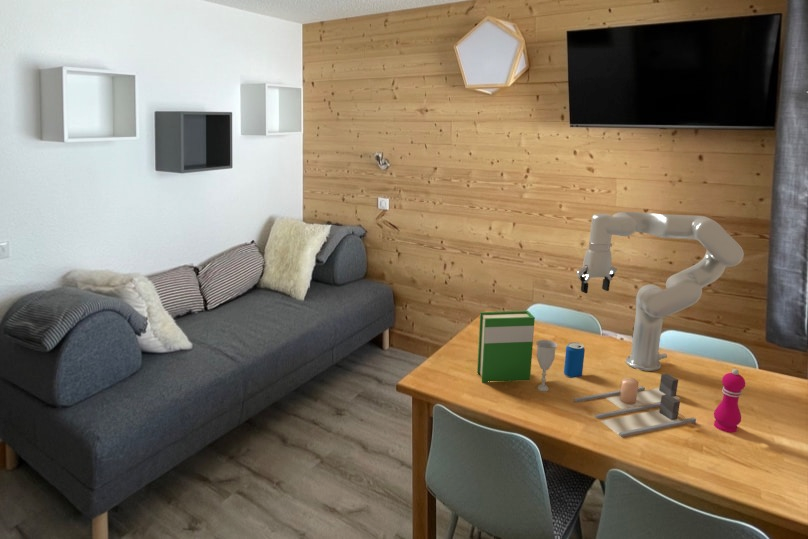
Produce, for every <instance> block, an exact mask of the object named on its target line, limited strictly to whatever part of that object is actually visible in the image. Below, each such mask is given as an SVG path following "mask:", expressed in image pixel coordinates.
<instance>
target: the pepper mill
mask: <svg viewBox="0 0 808 539" xmlns="http://www.w3.org/2000/svg"><path fill="white" fill-rule="evenodd" d="M721 384H722V385H723V387H722V390H721V392H722V393H723V396H722V400H721V401H720V403H719V404H718V405H717V407H716V408H715V409H714V413H713V417H714V420H713V421H714V422H713V426H714V427H715V429H717V430H718V431H721V432H724V433H731V434H732V433H736V432H738V429H739V427H738V425H739V424H741V422H742V414H741V410H740V407H739V398H740V397H742V393H743V391H742V390H744V388H745V387H746V380H745V378H744V377H743V375H741V374H740V371H739V369H737V368H733V369H732V370H731V372H728V373H725V374H724V375H723V376H722V379H721Z"/></svg>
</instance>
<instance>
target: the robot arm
mask: <svg viewBox="0 0 808 539" xmlns="http://www.w3.org/2000/svg"><path fill="white" fill-rule="evenodd" d="M590 223H591V224H590V232H589V242H588V243H589V244H588V249H586V251H585V254H584V256H583V257H584V258H583V263H582V267H581V268H580V269H579V270H577V271H576V274H577V278H578V279H579V281H580V282H581V283H580V285H581V286H580V292H581V293H584V294H588V290H589V283H588V282H589V280H590V279H595V278H596V279H597V278H603V279H602V286H601V288H602V290H604V291H606V292H609V291H610V284H611V282H612V281H613V280H612V279H613V278H614V277H615V274H616V272H617V271H618V269H617V267H615V266H613V265H612V262H613V261H612V260H613V259H612V251H611V248H612V247H613V244H612V235H614V236H619V237H630V236H631V235H633V234H634V233H644V234H648V235H651V236H654V237H658V238H663V239H684V240H696V241H698V242H699V244H701V246H703V247H704V249H706V251H705V254H704V256H703V258H702V259H701V260H700V261H698V262H697V263H695V264H693V265H692V266H689V267H688V268H685V269H683V270H680V271H679V272H677V273H674V274H672V275H671V276H669V277H668V278H667V280H666V282H665V289H662V288H661V287H659V286H658V285H655V284H646V285H643V286H641V287H640V288H639V290H638V292H637V293H636V298H635V318H634V325H633V326H634V327H633V332H632V333H633V334H632V343H631V350H630V355H629V356H626V358H625V363H626V365H628V366H630V367H631V368H633V369H636V370H640V371H644V372H645V371H647V372H654V371H658V370H660V369H661V367H662V363H661V361H660V360H662V359H667V358H668V354H667V353H666V352H665V353H664V352H663V353H660V352H659V349H660V342H661V336H662V328H663V324H664V323H663V321H664V318H667V317H669V316H671V315H674V314H675V313H678V312H680V311H683V310H685V309H687V308H689V307H691V306H693V305H695V304H696V303H697V302H698V301H699V300H700V299H701V297H702V295H703V288H704V287H707V286H708V285H710V284H712V283H714V282H716V281H717V280H718V279H720V277H721V276H722V275H723V274H724V272H725V269H726V268H729V267H731V268H732V267H735V266H737V265H739V264H740V263H741V262H742V261H743V259H744V256H745V254H744V253H745V252H744V250H743V248H742V246H741V245H740V244H739V243H738V242H737V241H736V240H735V239H734V238H733V237H732V236H731V235H730V234H729V233H728V232H727V231H726V230H725V228H724V227H722V225H720V224H719V223H718V222H717V221H715V220H714V219H711V218H709V217H707V216H704V215H693V214H692V215H690V214H686V215H685V214H665V213H652V212H651V213H650V212H641V211H640V212H638V211H634V212H633V211H619V212H616V213H614V214H613V215H611V214H608V213H594V214H593V215H592V216H591V221H590Z"/></svg>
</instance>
